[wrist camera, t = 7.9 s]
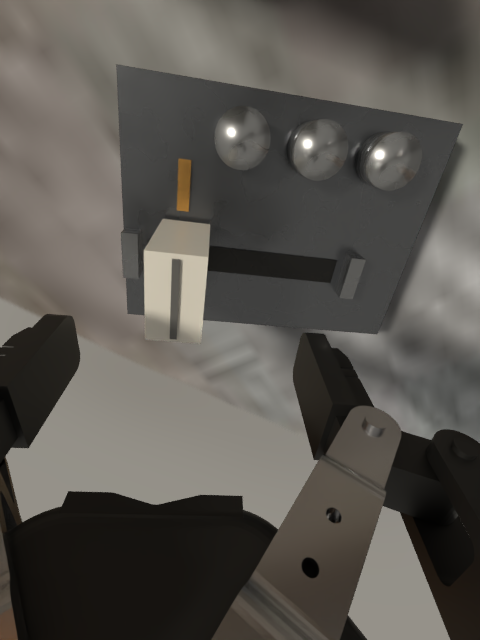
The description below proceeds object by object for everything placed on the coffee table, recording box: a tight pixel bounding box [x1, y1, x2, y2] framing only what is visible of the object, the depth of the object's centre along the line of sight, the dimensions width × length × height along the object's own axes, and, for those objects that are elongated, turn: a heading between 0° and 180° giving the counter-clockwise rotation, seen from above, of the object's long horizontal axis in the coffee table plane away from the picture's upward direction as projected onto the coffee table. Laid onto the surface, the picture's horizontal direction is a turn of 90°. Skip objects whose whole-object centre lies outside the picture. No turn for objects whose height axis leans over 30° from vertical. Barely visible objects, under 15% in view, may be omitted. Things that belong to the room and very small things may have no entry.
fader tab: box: [144, 219, 210, 344], centre depth 15 cm, size 2×4×5 cm, turn 173°
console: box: [116, 64, 463, 334], centre depth 18 cm, size 16×12×4 cm
